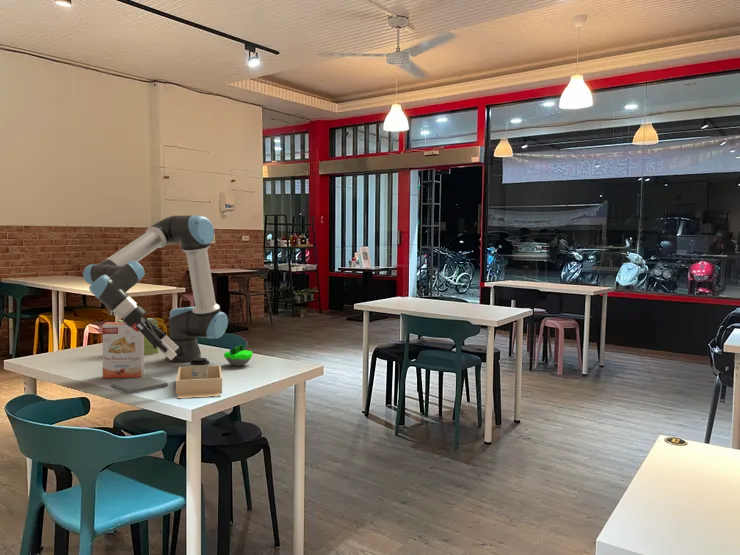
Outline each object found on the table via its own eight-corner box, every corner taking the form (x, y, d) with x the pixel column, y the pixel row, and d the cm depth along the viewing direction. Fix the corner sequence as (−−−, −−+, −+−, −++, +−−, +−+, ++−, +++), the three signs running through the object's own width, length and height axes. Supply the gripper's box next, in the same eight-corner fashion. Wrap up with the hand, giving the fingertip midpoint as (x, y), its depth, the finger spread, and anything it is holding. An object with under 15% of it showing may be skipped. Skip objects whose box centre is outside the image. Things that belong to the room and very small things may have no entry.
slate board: (147, 379, 209) (147, 376, 209) (167, 386, 200) (167, 382, 200) (111, 386, 199) (111, 382, 198) (130, 393, 190) (130, 390, 190)
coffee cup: (207, 383, 206) (207, 356, 206) (211, 387, 200) (211, 360, 200) (188, 384, 203) (188, 357, 202) (191, 389, 197) (191, 361, 196)
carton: (175, 399, 184) (175, 384, 184) (179, 376, 214) (179, 364, 214) (222, 396, 189) (222, 382, 188) (220, 375, 219) (220, 362, 218)
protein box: (158, 353, 258) (158, 320, 257) (124, 357, 248) (123, 322, 247) (151, 349, 266) (151, 317, 265) (117, 353, 256) (117, 320, 255)
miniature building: (244, 369, 230) (245, 343, 229) (219, 367, 232) (219, 341, 232) (256, 363, 242) (257, 338, 241) (232, 361, 244) (232, 336, 243)
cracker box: (102, 378, 209) (101, 324, 208) (105, 375, 215) (105, 321, 213) (141, 377, 212) (141, 323, 211) (144, 374, 218) (144, 321, 217)
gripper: (126, 315, 204) (169, 354, 209) (115, 325, 180) (164, 368, 185) (142, 301, 205) (184, 340, 210) (133, 308, 181) (181, 352, 187)
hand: (175, 353), depth 198 cm, fingers open, 13 cm apart
